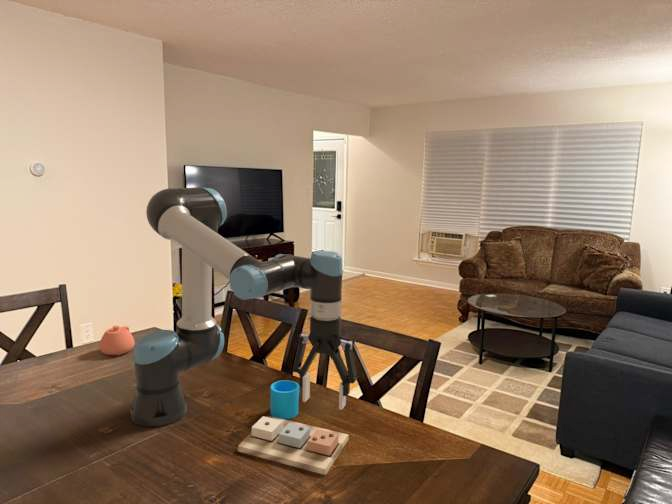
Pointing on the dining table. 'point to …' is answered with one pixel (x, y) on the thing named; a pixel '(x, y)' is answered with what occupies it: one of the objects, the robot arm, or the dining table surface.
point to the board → (293, 451)
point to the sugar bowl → (116, 341)
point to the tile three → (322, 442)
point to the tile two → (294, 435)
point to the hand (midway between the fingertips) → (323, 403)
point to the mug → (284, 399)
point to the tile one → (267, 428)
